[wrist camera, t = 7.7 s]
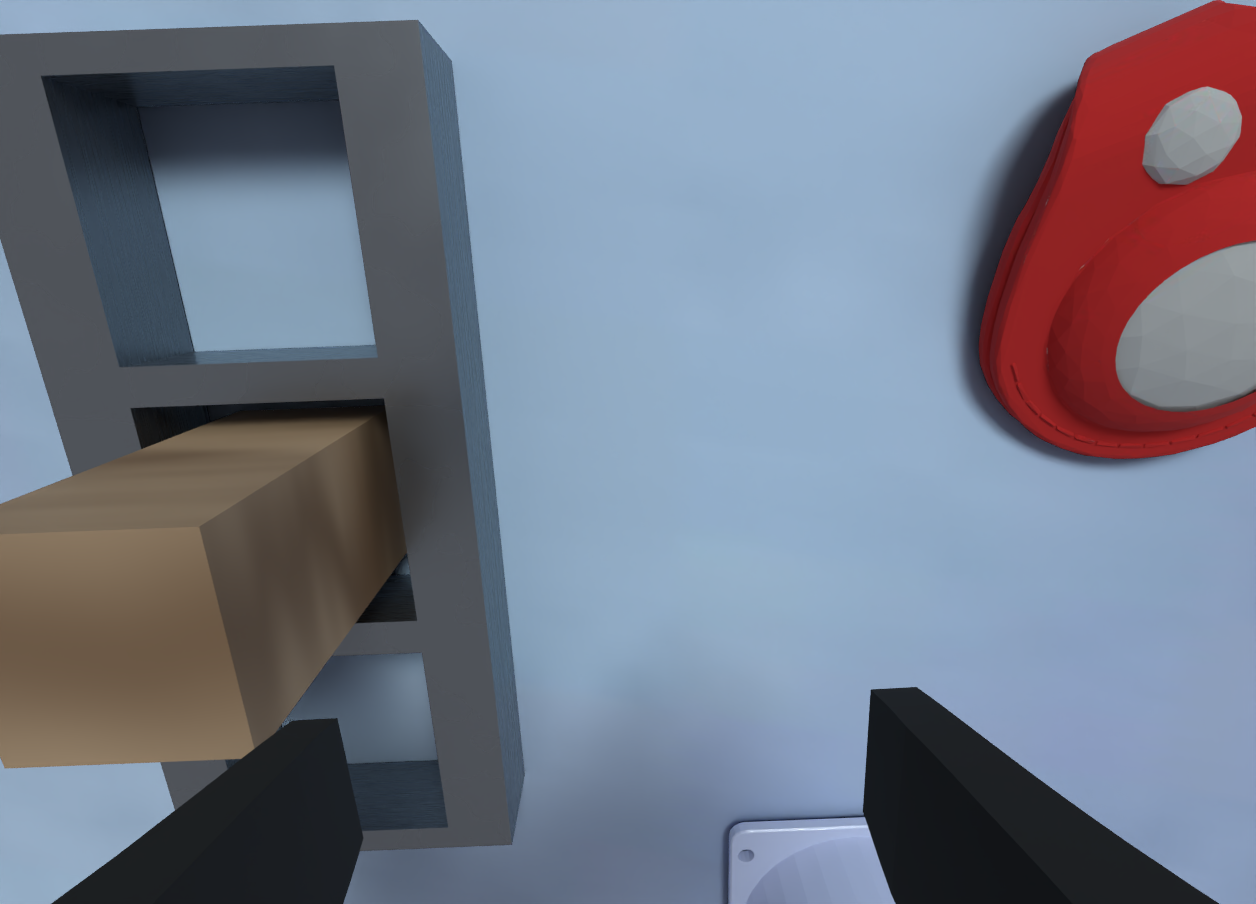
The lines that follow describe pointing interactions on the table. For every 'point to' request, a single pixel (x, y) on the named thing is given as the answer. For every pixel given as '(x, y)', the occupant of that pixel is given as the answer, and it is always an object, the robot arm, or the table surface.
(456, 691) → the rail
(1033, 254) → the tracker holder
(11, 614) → the walnut peg
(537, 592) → the table surface
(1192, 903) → the robot arm
